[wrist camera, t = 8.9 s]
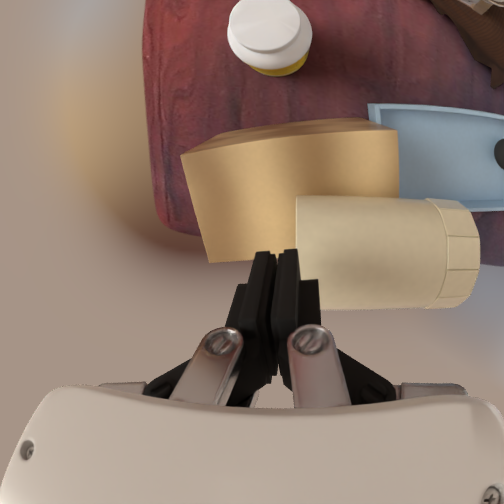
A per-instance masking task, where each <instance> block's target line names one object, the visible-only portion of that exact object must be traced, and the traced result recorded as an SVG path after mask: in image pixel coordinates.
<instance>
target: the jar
mask: <svg viewBox="0 0 504 504" xmlns="http://www.w3.org/2000/svg"><path fill="white" fill-rule="evenodd" d="M478 237H479V233H478V231H477V228H476V225H475V222H474V220H473V217H472V214H471V212H470V211H469V210H468V209H467V208H466V207H464V206H463V205H462V204H461V203H459V202H458V201H456V200H445V199H433V198H426V199H411V198H395V197H374V196H345V195H296V248H297V249H298V256H299V265H300V275H301V280H310V279H318V282H319V297H320V310H380V309H408V308H425V309H437V308H449V307H450V308H451V307H457V306H458V305H460V304H461V303H462V302H463V301H464V300H466V299H467V298H468V297H469V296H470V295H471V292H472V290H473V287H474V284H475V282H476V279H477V276H478V273H479V269H480V238H478Z"/></svg>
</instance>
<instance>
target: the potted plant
mask: <svg viewBox="0 0 504 504" xmlns="http://www.w3.org/2000/svg"><path fill="white" fill-rule="evenodd" d="M430 1H431V2H432V3H433V5H434V6H435V8H436V10H437V11H438V13H440V14H441V15H443V14H447V15H448V16H449V17H450V18H451V19H452V21H453V22H454V23H455V25H456V26H457V28H458V30H459V32H460V34H461V36H462V38H463V40H464V42H465V43H466V45H467V47H468V48H469V50H470V52H471V54H472V56H473V57H474V59H475V60H476V61H478V62H480V63H483V64H485V65H487V66H489V67H491V68H492V73H491V85H490V87H492V88H493V89H496V88H497V87H499V86H500V85H501V84H503V83H504V0H430Z"/></svg>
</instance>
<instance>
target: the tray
mask: <svg viewBox="0 0 504 504" xmlns="http://www.w3.org/2000/svg"><path fill="white" fill-rule="evenodd" d="M367 105H368V113H369V121H372V122H375V123H378V124H381V125H384V126H387V127H389V128H392V129H395V130H397V131H398V148H399V198H411V199H426V198H433V199H445V200H456V201H458V202H459V203H461V204H462V205H463V206H464V207H466V208H467V209H468V210H469V211H470V212H479V211H504V170H503V169H502V168H501V167H500V166H499V165H498V164H497V162H496V160H495V157H494V148H495V145H496V143H497V142H498V141H499V140H501V139H504V115H500V114H495V113H490V112H484V111H478V110H471V109H463V108H455V107H446V106H435V105H421V104H396V103H368V104H367Z"/></svg>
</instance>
